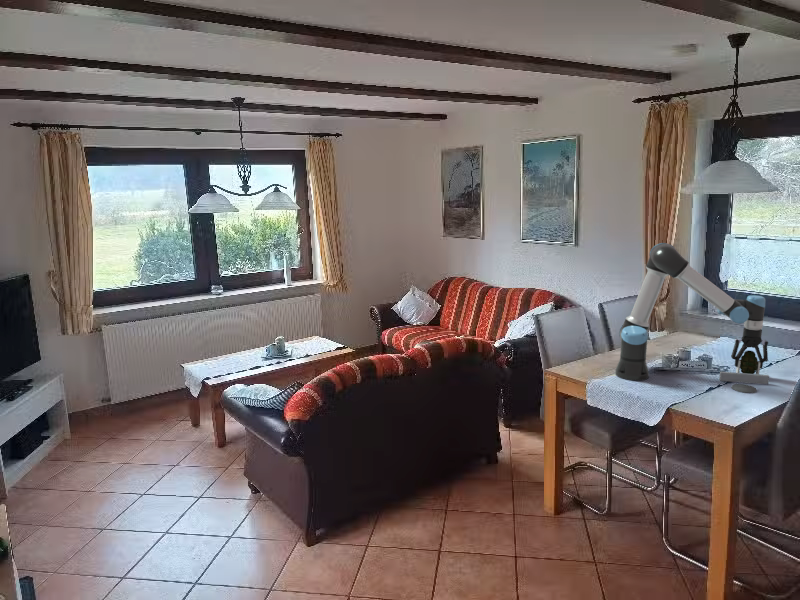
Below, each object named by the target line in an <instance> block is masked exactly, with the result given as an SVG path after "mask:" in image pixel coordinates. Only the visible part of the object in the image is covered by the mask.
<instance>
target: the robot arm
mask: <svg viewBox="0 0 800 600" xmlns="http://www.w3.org/2000/svg"><path fill="white" fill-rule="evenodd" d="M645 268H646V274H645V276H644V277H645V278H644V279H643V282H642V285H641V287H640V289H639V293H638V295H637V297H636V300H635V302H634V305H633V308H632V310H631V312H630V315H628V316H626V317H625V319H624V322H623V324H622V325H621V326H620V328H619V332H618V334H619V339H620V357H619V361H618V363H617V365H616V367H615V372H614V373H615V375H616V376H617V378H618V377H619V378H621V379H625V380H629V381H645V380H647V379H649V377H650V372H649V369H648V365H647V352H648V351H647V350H648V348H647V347H648V339H649V335H648V330H649V328H650V324H649V319H650V317H651V314H652V312H653V309H654V306H655V304H656V301H657V299H658V296H659V295H660V291H661V289H662V287H663V284H664V283H665V280H666V277H668V276H670V277H671V278H673V279H678V280H679V281H680V282H682V284H685V286H687V287H688V288H690V289H691V290H692V291H694V292H695V293H696V294H698V296H700V297H702V298H703V299H704V300H706V301H707V302H708V303H710V304H711V306H713V307H715V308H716V311H717V314H719V315H723V316H726V317H728V319H730V320H731V321H732V322H733V323H735V324H743V331H742V337H741V338H737V337H736V338H734V346H733V349H732V352H731V359H732V360H734V366H735V368H736V370H735V373H740V372H741V369H740V364H741V363H740V362H741V361H740V360H741V357H742V356H743V355H744V352H745V351H747V349H748V348H753V349H755V354H756V355H757V359H758V360H757V362H758V365H757V370H756V371H755V374H760V372H761V371H760V369H763V365H764V363H765V362H766V363H767V362H768V361H769V357H768V356H769V353H768V345H769V342H768V340H766V339H762V334H763V325H764V324H763V323H764V318H765V317H764V315H765V311H766V310H765V309H766V298H765V297H764V296H762V295H752V294H751V295H748V296H747V297H746V299H736V298H735V299H734V298H732V297H731V296H730V295H728V294H727V293H726V292H725V291H724V290H722V289H721V288H719V287H718V286H717V285H715V284H714V283H713V282H711V281H710V279H707V278H706V277H705V276H704V275H702V274H701V273H699V271H697V270H696V269H694V268H693V267H692V266H691V265H690V262H689V261H688V260H686V258H684V257H683V255H681V253H680V252H679V251H678V250H677V249H676V248H675V246H673V245H672V244H670V243H666V242H661V243H660V242H659V243H658V244H655V245H654V246H653V247H652V248H651V249H650V252H649V257H648V260H647V263H646V266H645ZM741 342H742V343H743V344H742V346H741V347H740V350H739V351H738V349H739V346H740V344H741ZM760 344H761V345H762V353H761V351H760V348H759V345H760ZM762 355H763V356H762Z"/></svg>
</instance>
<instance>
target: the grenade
mask: <svg viewBox="0 0 800 600" xmlns="http://www.w3.org/2000/svg"><path fill="white" fill-rule="evenodd" d="M756 355H757V353H756V351H753V350H745V351H744V353H743V354H742V356H741V358H740V359H739V360H740V361H741V362H740V373H747V374H756V370H757V365H758V362H757V361H758V356H756Z"/></svg>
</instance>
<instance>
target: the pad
mask: <svg viewBox="0 0 800 600" xmlns="http://www.w3.org/2000/svg"><path fill="white" fill-rule="evenodd" d="M731 390H733V391H736V392H738V393H742V394H743V393H744V394H755V393H757V392H758V389H757V387H755V386H752V385H749V384H744V383H734V384H732V385H731Z"/></svg>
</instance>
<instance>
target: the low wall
mask: <svg viewBox="0 0 800 600" xmlns="http://www.w3.org/2000/svg"><path fill="white" fill-rule="evenodd" d="M718 380H719V381H720V382H730V383H731V382H733V383H742V384H744V383H746V384H760V385H769V381H770V375H769V374H760V373H759V374H756V373H754V374H747V373H742V372H739V373H736V372H730V371H720V372H719V379H718Z"/></svg>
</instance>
